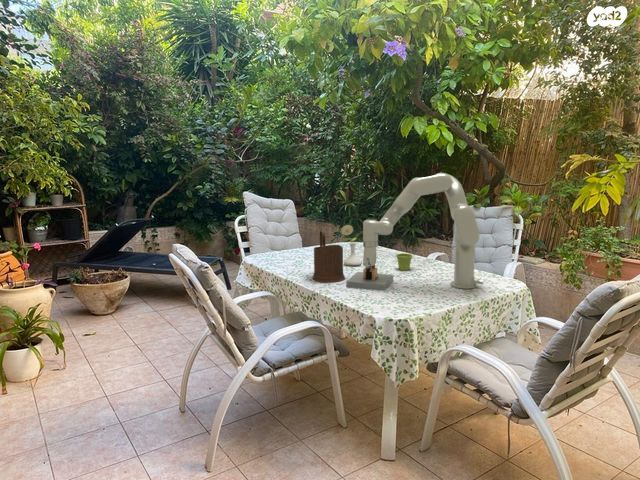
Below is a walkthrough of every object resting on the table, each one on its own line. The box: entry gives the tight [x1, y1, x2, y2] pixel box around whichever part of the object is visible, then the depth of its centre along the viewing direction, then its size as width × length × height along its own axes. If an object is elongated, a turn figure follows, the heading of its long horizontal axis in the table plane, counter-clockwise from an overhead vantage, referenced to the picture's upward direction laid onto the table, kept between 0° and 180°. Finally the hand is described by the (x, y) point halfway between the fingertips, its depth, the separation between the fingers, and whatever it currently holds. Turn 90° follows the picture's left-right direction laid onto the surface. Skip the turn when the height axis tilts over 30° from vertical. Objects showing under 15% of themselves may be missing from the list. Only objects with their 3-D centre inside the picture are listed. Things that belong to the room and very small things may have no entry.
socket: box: [345, 271, 394, 291], centre depth 233 cm, size 20×20×3 cm
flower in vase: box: [340, 224, 363, 267], centre depth 273 cm, size 13×11×25 cm
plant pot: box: [396, 253, 413, 272], centre depth 260 cm, size 9×9×9 cm
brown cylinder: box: [312, 230, 346, 284], centre depth 245 cm, size 18×24×25 cm
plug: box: [362, 266, 378, 280], centre depth 232 cm, size 6×6×7 cm
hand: (370, 277), depth 232 cm, fingers open, 6 cm apart
